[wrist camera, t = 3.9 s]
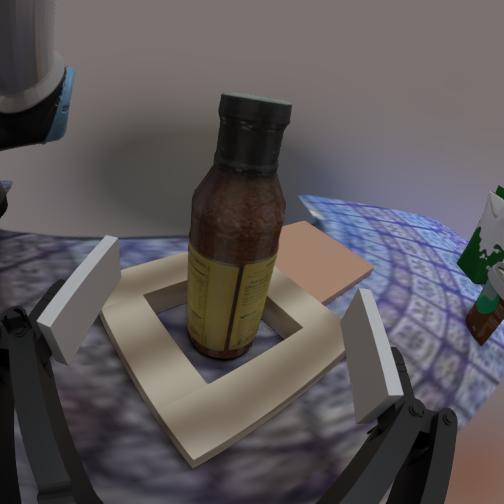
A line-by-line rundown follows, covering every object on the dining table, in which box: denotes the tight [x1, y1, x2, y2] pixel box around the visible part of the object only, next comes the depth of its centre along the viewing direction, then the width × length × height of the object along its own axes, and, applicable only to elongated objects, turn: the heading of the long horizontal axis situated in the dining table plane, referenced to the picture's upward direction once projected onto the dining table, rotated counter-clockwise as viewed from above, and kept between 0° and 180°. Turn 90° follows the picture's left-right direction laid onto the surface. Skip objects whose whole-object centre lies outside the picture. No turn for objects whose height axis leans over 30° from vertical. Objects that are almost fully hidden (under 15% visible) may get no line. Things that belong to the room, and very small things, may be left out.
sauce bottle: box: [187, 92, 292, 359], centre depth 20 cm, size 7×6×20 cm
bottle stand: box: [99, 251, 346, 469], centre depth 24 cm, size 18×18×3 cm
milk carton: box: [457, 186, 504, 284], centre depth 42 cm, size 9×9×20 cm
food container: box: [466, 262, 504, 346], centre depth 31 cm, size 12×6×10 cm, turn 123°
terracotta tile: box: [274, 221, 374, 306], centre depth 38 cm, size 14×14×1 cm
